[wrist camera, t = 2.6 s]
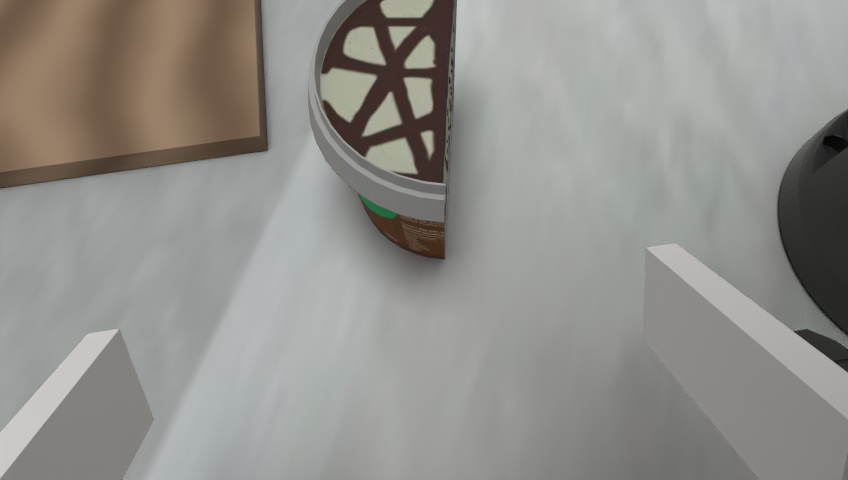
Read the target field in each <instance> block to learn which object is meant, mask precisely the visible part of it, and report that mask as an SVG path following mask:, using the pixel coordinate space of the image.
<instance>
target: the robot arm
mask: <svg viewBox="0 0 848 480" xmlns="http://www.w3.org/2000/svg"><path fill="white" fill-rule="evenodd" d="M779 220H780V228H781V233H782V237H783V241H784V244H785V247H786V250H787V253H788V255H789V258H790V260H791V262H792V264H793V267H794V269H795V270H796V272H797V274H798V276H799V278H800V279H801V281H802V282H803V284H804V286H805V287H806V289H807V290H808V291H809V293H810V294H811V296H812V297H813V298H814V299H815V301H816V302H817V303H818V304H819V306H820V307H821V308H822V309H823V310H824V311H825V312H826V313H827V314H828V315H829V316H830V318H832V319H833V320H834V321H835V322H836V323H837V324H838V325H839V326H840V327H841V328H842V329H843V330H845V331H846V332H847V333H848V109H847V110H845V111H844V112H842V113H841V114H839V115H838V116H836V117H835V118H834V119H832V120H831V121H830V122H829V123H827V124H826V125H825V126H824V127H823V128H822V129H821V130H820V131H819V132H818V133H816V134H815V135H814V136H813V137H812V138H811V139H810V140H809V141H808V142H807V143H806V144H805V145H803V147H802V148H801V149H800V150H799V151H798V152H797V154H796V155H795V156H794V158H793V159H792V161H791V163H790V164H789V166H788V168H787V171H786V173H785V176H784V178H783V181H782V186H781V190H780V197H779ZM644 342H645V343H646V345H647V346H648V347H649V348H650V349H651V351H652V352H653V353H654V354H655V355H656V357H657V358H658V359H659V360H660V361H661V363H662V364H663V365H664V366H665V367H666V369H667V370H668V371H669V372H670V373H671V374H672V376H673V377H674V378H675V379H676V380H677V382H678V383H679V384H680V385H681V386H682V388H683V389H684V390H685V391H686V392H687V394H688V395H689V396H690V397H691V398H692V400H693V401H694V402H695V403H696V404H697V406H698V407H699V408H700V409H701V410H702V412H703V413H704V414H705V415H706V416H707V418H708V419H709V420H710V421H711V422H712V424H713V425H714V426H715V427H716V428H717V430H718V431H719V432H720V433H721V434H722V436H723V437H724V438H725V439H726V440H727V442H728V443H729V444H730V445H731V446H732V447H733V449H734V450H735V451H736V452H737V453H738V455H739V456H740V457H741V458H742V459H743V461H744V462H745V463H746V464H747V465H748V467H749V468H750V469H751V470H752V471H753V473H754V474H755V475H756V476H757V477H758V479H759V480H848V349H846V348H845V347H844V346H842V345H841V344H839V343H838V342H836V341H834V340H832V339H830V338H827V337H825V336H822V335H820V334H817V333H815V332H813V331H810V330H808V329H805V330H798V331H792V330H790V329H789V328H788V327H786V326H785V325H784V324H782V323H781V322H780V321H778V320H777V319H776V318H774V317H773V316H772V315H770V314H769V313H768V312H766V311H765V310H764V309H762V308H761V307H760V306H759V305H757V304H756V303H755V302H753V301H752V300H751V299H749V298H748V297H747V296H745V295H744V294H743V293H741V292H740V291H739V290H737V289H736V288H735V287H733V286H732V285H731V284H729V283H728V282H727V281H725V280H724V279H723V278H721V277H720V276H719V275H717V274H716V273H715V272H713V271H712V270H711V269H709V268H708V267H707V266H705V265H704V264H703V263H701V262H700V261H699V260H697V259H696V258H695V257H693V256H692V255H691V254H689V253H688V252H687V251H685V250H684V249H683V248H681V247H680V246H679V245H677V244H676V243H672V244H666V245H659V246H653V247H646V254H645V301H644ZM153 420H154V418H153V415H152V413H151V410H150V408H149V405H148V402H147V400H146V397H145V394H144V392H143V389H142V387H141V384H140V381H139V379H138V376H137V373H136V371H135V368H134V366H133V363H132V360H131V358H130V355H129V352H128V350H127V347H126V345H125V342H124V339H123V337H122V334H121V331H120V329H115V330H109V331H102V332H96V333H89V334H87V335H86V336H85V337H84V339H83V340H82V341H81V342H80V343H79V344H78V345H77V346H76V348H75V349H74V350H73V351H72V352H71V353H70V354H69V356H68V357H67V358H66V359H65V360H64V361H63V362H62V363H61V365H60V366H59V367H58V368H57V369H56V370H55V371H54V373H53V374H52V375H51V376H50V377H49V378H48V379H47V380H46V382H45V383H44V384H43V385H42V386H41V387H40V388H39V390H38V391H37V392H36V393H35V394H34V395H33V396H32V397H31V399H30V400H29V401H28V402H27V403H26V404H25V405H24V406H23V408H22V409H21V410H20V411H19V412H18V413H17V414H16V416H15V417H14V418H13V419H12V420H11V421H10V422H9V423H8V425H7V426H6V427H5V428H4V429H3V430H2V431H1V433H0V480H122V479H123V477H124V475H125V473H126V471H127V469H128V467H129V465H130V464H131V462H132V460H133V458H134V456H135V454H136V452H137V450H138V449H139V447H140V445H141V443H142V441H143V439H144V437H145V435H146V434H147V432H148V430H149V428H150V426H151V424H152V422H153Z"/></svg>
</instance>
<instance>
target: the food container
mask: <svg viewBox="0 0 848 480" xmlns="http://www.w3.org/2000/svg"><path fill="white" fill-rule="evenodd" d="M456 9H457V0H343V1H342V2H341V3H340V4H339V5H338V6H337V7H336V8H335V10H334V11H333V12H332V14H331V15H330V17H329V18H328V20H327V21H326V23H325V25H324V27H323V29H322V31H321V33H320V35H319V37H318V40H317V44H316V46H315V49H314V52H313V56H312V59H311V63H310V70H309V82H308V106H309V115H310V123H311V127H312V130H313V133H314V136H315V140H316V143H317V145H318V146H319V148H320V150H321V152H322V154H323V156H324V158H325V159H326V161H327V162H328V164H329V165H330V166H331V167H332V169H333V170H334V171H335V172H336V174H337V175H338V176H339V177H340V178H341V179H342V180H343V181H344V182H345V183H347V184H348V185H349V186H350V187H351V188H352V189H353V190H354V191H356V192H357V193H358V195H359V197H360V199H361V201H362V203H363V205H364V208H365V210H366V212H367V213H368V215H369V217H370V219H371V220H372V222H373V223H374V225H375V226H376V227H377V228H378V230H379V231H380V232H381V233H382V234H383V235H385V236H386V237H387V238H388V239H389V240H390V241H392V242H393V243H395V244H396V245H398V246H400V247H401V248H403V249H405V250H408V251H410V252H412V253H415V254H418V255H422V256H425V257H429V258H438V259H445V249H446V231H447V213H448V195H449V176H450V158H451V140H452V121H453V98H454V69H455V39H456Z"/></svg>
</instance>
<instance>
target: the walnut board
mask: <svg viewBox="0 0 848 480" xmlns="http://www.w3.org/2000/svg"><path fill="white" fill-rule="evenodd" d="M265 150H267V129H266V108H265V87H264V66H263V44H262V23H261V2H260V0H0V188H3V187H10V186H17V185H25V184H32V183H39V182H46V181H53V180H60V179H67V178H74V177H81V176H88V175H95V174H102V173H109V172H117V171H124V170H131V169H138V168H145V167H152V166H159V165H166V164H173V163H180V162H187V161H194V160H202V159H209V158H216V157H223V156H230V155H237V154H244V153H251V152H258V151H265Z"/></svg>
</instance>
